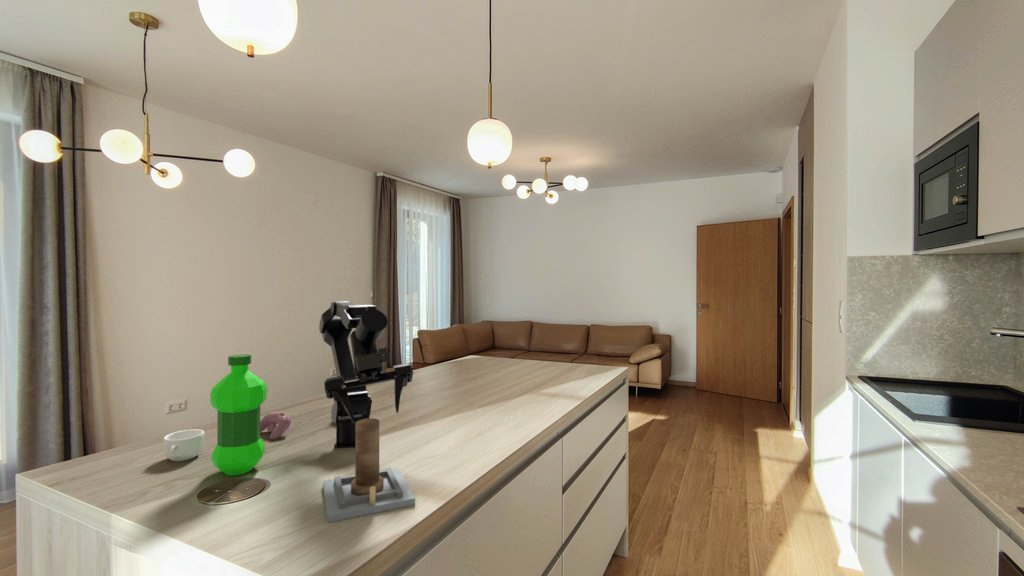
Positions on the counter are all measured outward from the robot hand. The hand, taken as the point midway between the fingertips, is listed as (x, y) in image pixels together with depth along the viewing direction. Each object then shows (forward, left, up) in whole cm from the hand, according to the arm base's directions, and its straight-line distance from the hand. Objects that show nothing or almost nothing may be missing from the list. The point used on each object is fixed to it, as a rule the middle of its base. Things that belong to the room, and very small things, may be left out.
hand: (376, 417), depth 96 cm
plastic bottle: (-30, +4, -12) cm, 32 cm away
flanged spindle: (0, -11, -11) cm, 15 cm away
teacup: (-46, +12, -12) cm, 49 cm away
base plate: (0, -11, -12) cm, 16 cm away
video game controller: (-32, +28, -12) cm, 45 cm away
